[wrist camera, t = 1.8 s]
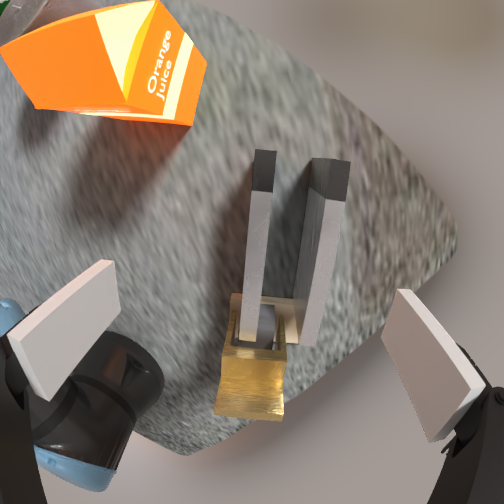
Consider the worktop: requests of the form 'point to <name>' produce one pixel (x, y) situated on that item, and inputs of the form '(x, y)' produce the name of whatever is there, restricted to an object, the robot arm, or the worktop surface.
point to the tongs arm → (319, 244)
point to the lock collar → (252, 378)
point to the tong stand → (267, 321)
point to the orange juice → (111, 65)
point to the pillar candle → (38, 15)
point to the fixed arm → (257, 241)
